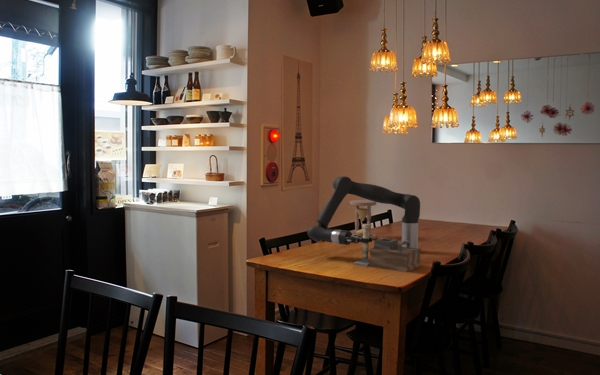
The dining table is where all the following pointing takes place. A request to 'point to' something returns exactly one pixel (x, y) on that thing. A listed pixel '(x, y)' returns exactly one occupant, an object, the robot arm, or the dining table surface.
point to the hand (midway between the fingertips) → (370, 240)
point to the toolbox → (394, 255)
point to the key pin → (365, 245)
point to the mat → (362, 263)
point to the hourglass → (363, 215)
